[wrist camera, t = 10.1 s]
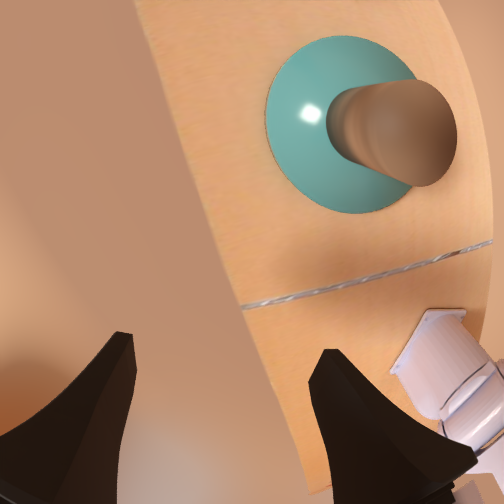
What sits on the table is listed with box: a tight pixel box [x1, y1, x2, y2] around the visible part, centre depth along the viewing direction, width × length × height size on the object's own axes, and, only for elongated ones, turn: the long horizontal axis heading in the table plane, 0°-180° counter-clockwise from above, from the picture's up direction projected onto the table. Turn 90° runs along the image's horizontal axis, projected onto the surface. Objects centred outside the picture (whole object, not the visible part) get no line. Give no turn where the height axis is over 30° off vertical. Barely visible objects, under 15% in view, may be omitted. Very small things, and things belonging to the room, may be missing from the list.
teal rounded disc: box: [265, 36, 417, 214], centre depth 16 cm, size 12×12×1 cm
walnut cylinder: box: [326, 79, 457, 187], centre depth 12 cm, size 5×5×6 cm
